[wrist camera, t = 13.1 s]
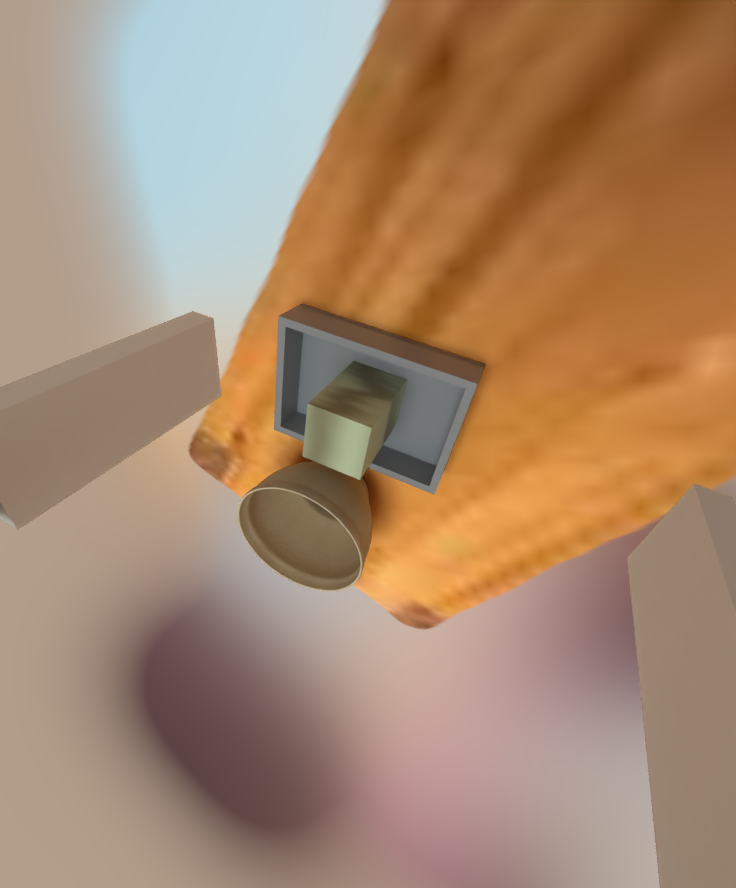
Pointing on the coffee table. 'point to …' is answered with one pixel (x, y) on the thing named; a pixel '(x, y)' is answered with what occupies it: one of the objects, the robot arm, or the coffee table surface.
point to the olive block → (352, 418)
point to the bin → (426, 369)
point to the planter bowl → (309, 525)
